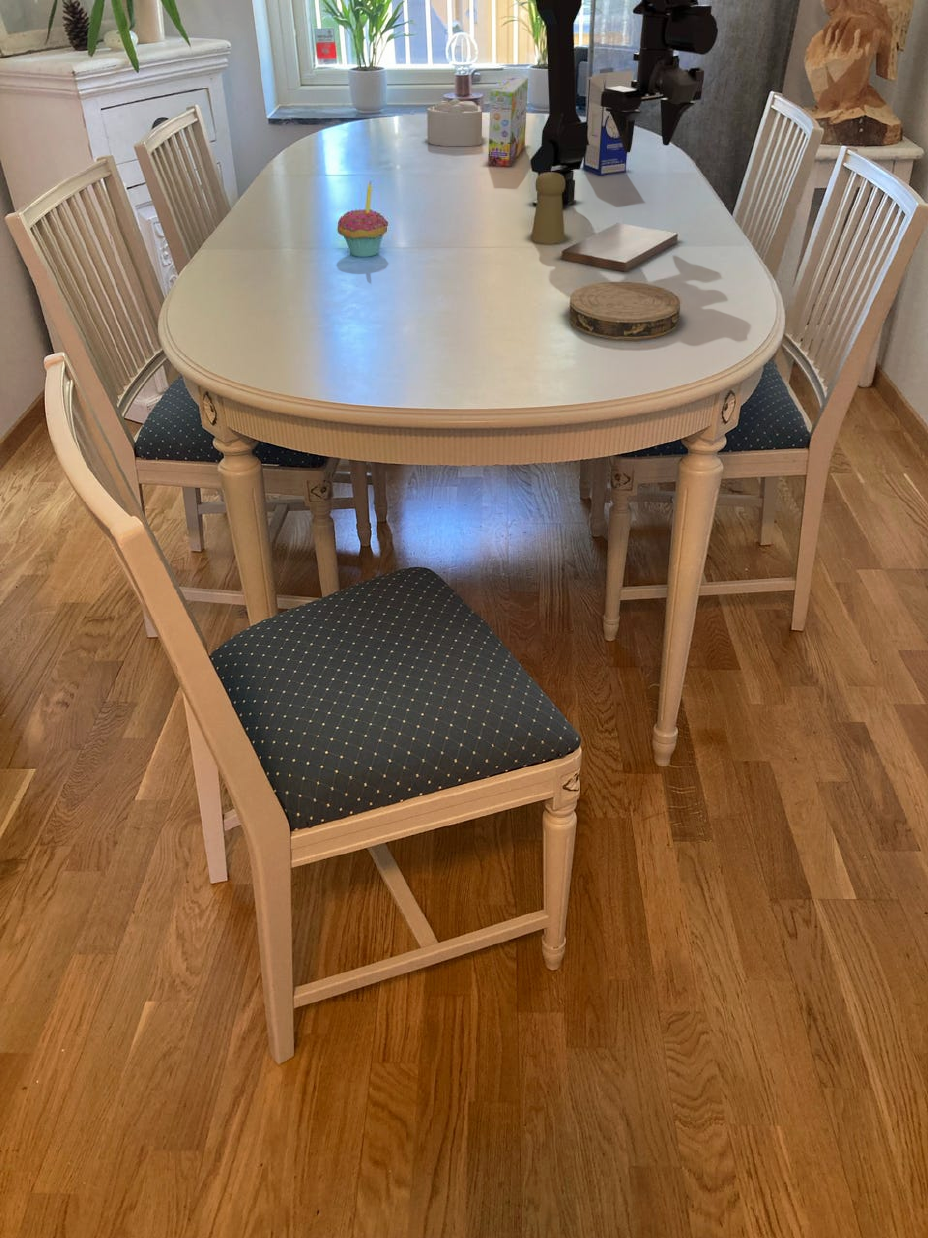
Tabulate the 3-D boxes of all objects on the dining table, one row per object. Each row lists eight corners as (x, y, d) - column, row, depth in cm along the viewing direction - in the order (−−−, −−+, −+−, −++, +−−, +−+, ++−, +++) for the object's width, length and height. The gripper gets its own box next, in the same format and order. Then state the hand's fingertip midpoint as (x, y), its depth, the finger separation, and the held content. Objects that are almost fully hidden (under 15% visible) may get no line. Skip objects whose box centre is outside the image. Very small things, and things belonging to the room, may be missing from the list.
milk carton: (599, 175, 223) (606, 71, 211) (582, 168, 228) (588, 66, 216) (626, 171, 225) (635, 68, 214) (609, 165, 230) (616, 64, 219)
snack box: (512, 167, 229) (513, 91, 220) (487, 166, 230) (488, 90, 221) (526, 146, 246) (529, 75, 237) (503, 145, 247) (504, 74, 238)
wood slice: (602, 346, 144) (604, 325, 142) (549, 310, 156) (550, 290, 154) (699, 329, 149) (702, 309, 147) (641, 295, 161) (643, 276, 159)
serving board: (561, 259, 176) (561, 250, 175) (616, 231, 189) (617, 222, 188) (624, 271, 170) (625, 262, 169) (677, 242, 183) (678, 233, 183)
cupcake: (396, 248, 181) (393, 175, 174) (377, 262, 174) (373, 187, 167) (351, 243, 183) (346, 171, 176) (330, 257, 177) (324, 183, 170)
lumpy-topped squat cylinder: (482, 145, 247) (482, 105, 242) (427, 146, 246) (427, 106, 241) (480, 136, 255) (480, 97, 250) (427, 137, 255) (426, 98, 250)
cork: (528, 234, 187) (531, 169, 181) (561, 233, 188) (565, 168, 181) (533, 244, 183) (535, 178, 176) (567, 243, 183) (571, 177, 177)
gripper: (650, 58, 162) (639, 164, 171) (732, 48, 171) (718, 149, 180) (602, 49, 169) (594, 152, 179) (683, 40, 178) (672, 138, 187)
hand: (646, 148), depth 181 cm, fingers open, 9 cm apart
